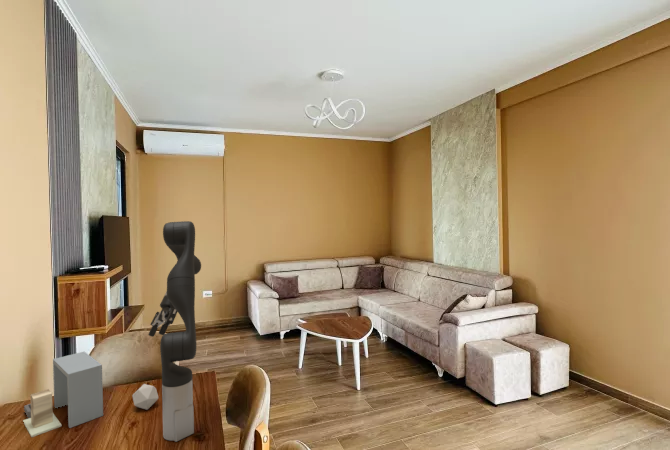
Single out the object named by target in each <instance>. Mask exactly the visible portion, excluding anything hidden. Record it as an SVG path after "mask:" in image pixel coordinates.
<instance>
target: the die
mask: <svg viewBox="0 0 670 450" xmlns="http://www.w3.org/2000/svg"><path fill="white" fill-rule="evenodd" d="M158 394H159V393H158V391H157V388H156V387H155V386H154V385H150V384H146V383H143V384H142V385H141V386H140V387H139V388H138V389H137V390H136V391H135V392H133V394H132V401H133V405H134V406H135V407H136V408H138V409H143V410H146V411H147V410H149V409H150V407H152V406H153V405H154V404H155V403H156V402H157V401H158V399H159V395H158Z"/></svg>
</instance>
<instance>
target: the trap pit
mask: <svg viewBox="0 0 670 450" xmlns="http://www.w3.org/2000/svg"><path fill="white" fill-rule="evenodd" d="M23 411H25V413H26V415H27V416H26V415H25V416H26V418H27V417H28V418H31V403H28V404H26V405H23ZM25 413H24V414H25ZM28 418H27V419H28Z"/></svg>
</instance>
